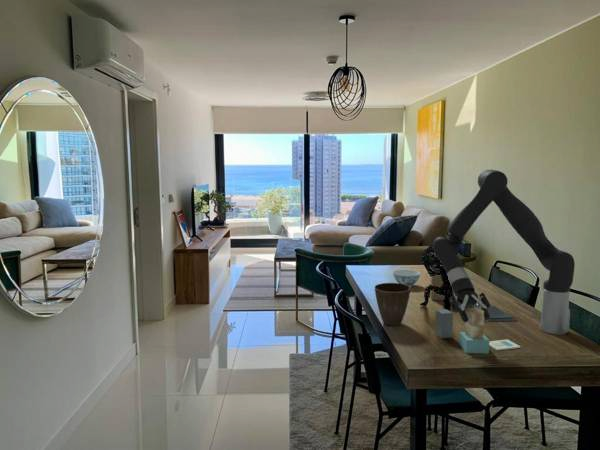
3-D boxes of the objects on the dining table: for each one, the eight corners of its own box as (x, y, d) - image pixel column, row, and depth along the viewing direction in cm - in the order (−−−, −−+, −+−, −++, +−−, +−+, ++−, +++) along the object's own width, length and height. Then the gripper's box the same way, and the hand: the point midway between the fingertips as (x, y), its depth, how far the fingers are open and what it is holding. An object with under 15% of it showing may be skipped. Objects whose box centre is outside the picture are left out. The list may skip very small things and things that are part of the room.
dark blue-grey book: (518, 318, 188) (483, 319, 188) (518, 323, 188) (483, 323, 188) (496, 304, 208) (465, 305, 207) (496, 308, 208) (465, 309, 208)
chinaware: (421, 289, 239) (421, 276, 238) (393, 288, 242) (393, 275, 241) (418, 282, 254) (418, 269, 253) (392, 282, 256) (392, 269, 255)
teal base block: (481, 345, 164) (481, 332, 163) (488, 354, 156) (489, 340, 155) (459, 344, 164) (460, 332, 164) (466, 353, 156) (466, 340, 156)
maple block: (475, 333, 162) (476, 307, 161) (483, 337, 158) (483, 310, 157) (465, 334, 161) (465, 308, 160) (472, 338, 157) (472, 311, 156)
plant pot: (384, 331, 178) (384, 293, 176) (368, 319, 192) (368, 284, 190) (416, 327, 182) (417, 290, 180) (398, 316, 196) (399, 281, 194)
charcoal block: (445, 333, 176) (446, 309, 174) (451, 337, 171) (452, 312, 170) (435, 334, 175) (436, 310, 173) (441, 338, 170) (442, 313, 169)
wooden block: (450, 296, 226) (452, 258, 224) (451, 301, 217) (453, 262, 214) (430, 295, 229) (431, 257, 227) (431, 300, 220) (432, 261, 217)
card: (507, 340, 167) (507, 339, 167) (520, 347, 160) (520, 346, 160) (484, 343, 165) (484, 341, 165) (496, 350, 158) (496, 348, 158)
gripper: (447, 278, 163) (464, 317, 153) (481, 275, 166) (499, 314, 156) (439, 288, 168) (455, 326, 159) (472, 285, 172) (489, 323, 162)
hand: (477, 320), depth 157 cm, fingers open, 8 cm apart
